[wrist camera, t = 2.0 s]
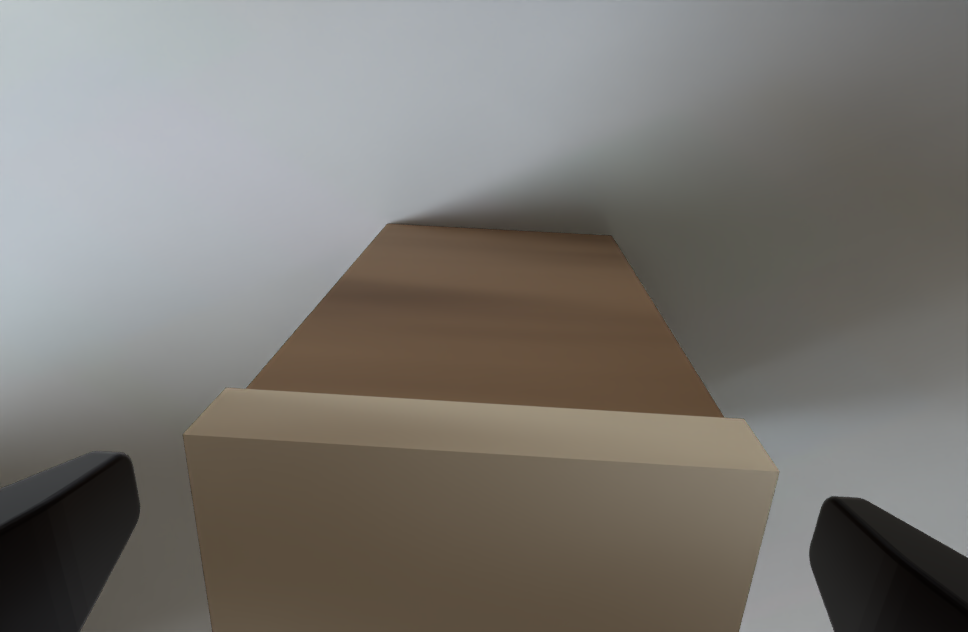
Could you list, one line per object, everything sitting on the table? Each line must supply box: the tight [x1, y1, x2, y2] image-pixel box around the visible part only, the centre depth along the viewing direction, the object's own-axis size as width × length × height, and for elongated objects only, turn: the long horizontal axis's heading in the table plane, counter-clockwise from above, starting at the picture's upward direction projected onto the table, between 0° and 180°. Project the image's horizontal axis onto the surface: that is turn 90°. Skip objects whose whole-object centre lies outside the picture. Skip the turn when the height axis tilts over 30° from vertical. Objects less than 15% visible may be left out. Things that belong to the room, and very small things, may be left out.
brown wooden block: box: [183, 224, 779, 632], centre depth 10 cm, size 5×5×8 cm
